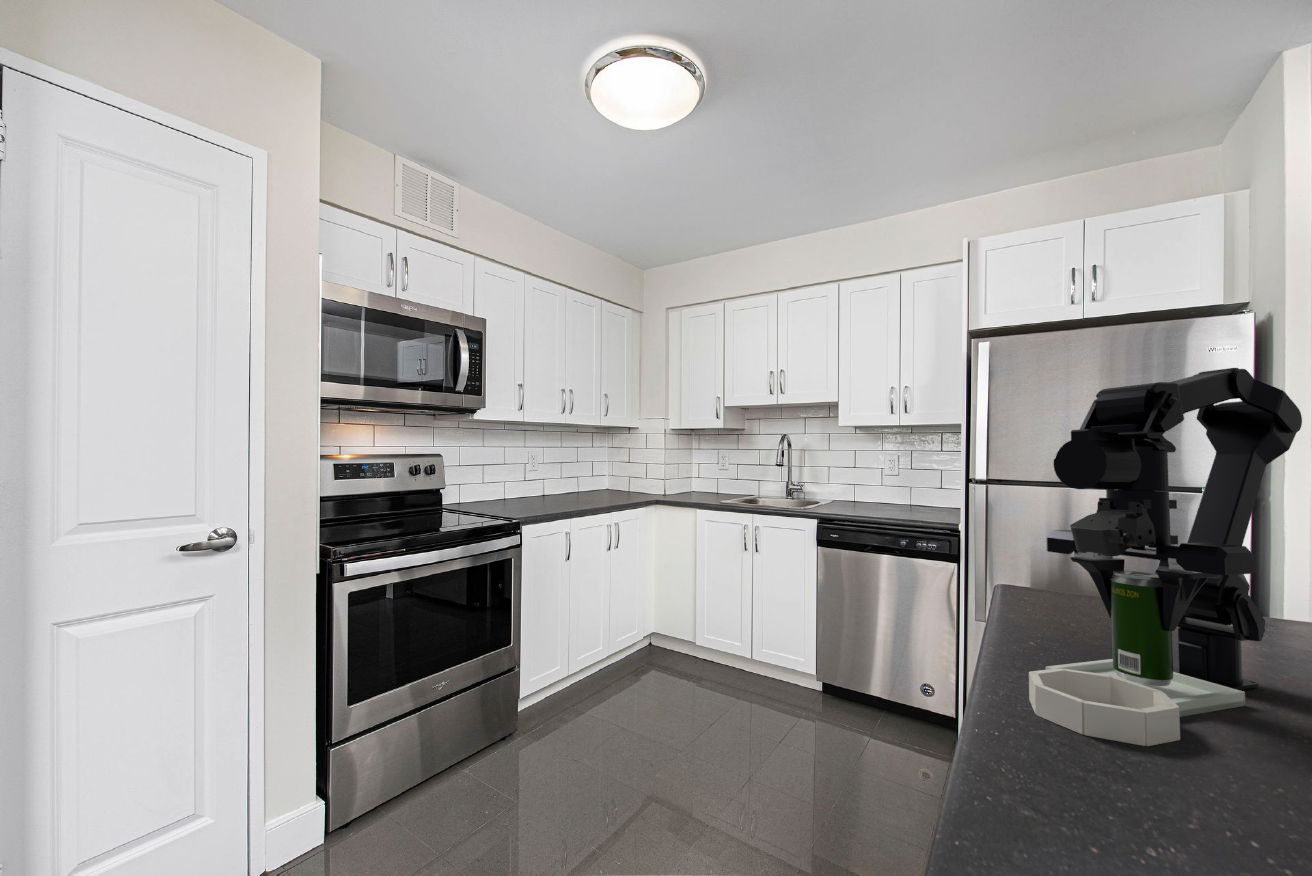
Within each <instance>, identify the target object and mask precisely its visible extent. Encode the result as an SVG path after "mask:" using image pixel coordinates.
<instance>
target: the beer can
mask: <svg viewBox="0 0 1312 876" xmlns="http://www.w3.org/2000/svg"><path fill="white" fill-rule="evenodd" d="M1113 574H1114V575H1113V576H1112V578H1111V580H1110V583H1111V618H1110V619H1111V645H1112V649H1111V650H1112V653H1111V654H1112V659H1113V668H1114V670H1115V672H1116V674H1117V676H1119V677H1121V678H1123V679H1125V680H1128V681H1132V682H1135V683H1140V684H1145V685H1152V686H1167V685H1169V684H1170V683H1171V681H1172V679H1173V669H1174V656H1173V631H1166V630H1165V629H1164V622H1163V584H1162V582H1161V580H1160V578H1159V576H1158V575H1157V574H1155V572H1154V573H1153V572H1147V571H1146V572H1145V571H1137V570H1124V571H1113Z"/></svg>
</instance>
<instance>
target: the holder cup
mask: <svg viewBox="0 0 1312 876" xmlns="http://www.w3.org/2000/svg"><path fill="white" fill-rule="evenodd" d="M1028 695H1029V696H1028V698H1029V699H1028V700H1029V702H1030V705H1031V707H1032V709H1033V711H1034V714H1035V715H1036V716H1037V717H1040V718H1041V719H1045V720H1046V721H1049V722H1052V723H1054V724H1056V725H1059V726H1061V727H1063V728H1065V729H1068V730H1071V731H1073V732H1076V733H1078V734H1080V735H1084V736H1086V737H1092V738H1098V739H1105V740H1110V741H1116V742H1120V743H1126V744H1131V745H1137V746H1143V747H1145V746H1146V747H1149V746H1150V747H1151V746H1156V745H1161V744H1162V745H1163V744H1166V743H1172V742H1177V741H1180V740H1181V723H1180V722H1181V720H1180V718H1181V717H1180V715H1179V706H1178V705H1177V704H1175V703H1174V702H1173V701H1172V700H1171V699H1170V698H1169V697H1168V696H1167V695H1166V694H1165V693H1164V692H1162V691H1160V690H1157V689H1154V688H1151V687H1147V686H1144V685H1141V684H1138V683H1135V682H1131V681H1128V680H1125V679H1122V678H1119V677H1115V676H1111V675H1105V674H1098V673H1091V672H1084V671H1077V670H1070V669H1063V668H1061V669H1060V668H1056V669H1048V670H1046V669H1040V670H1033V671H1028Z"/></svg>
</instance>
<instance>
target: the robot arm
mask: <svg viewBox="0 0 1312 876" xmlns="http://www.w3.org/2000/svg"><path fill="white" fill-rule="evenodd" d="M1095 397H1096V399H1094V400H1093V402H1092V404H1091V405H1090V407H1089V409H1088V411H1087V414H1086V415H1085V418H1084V420H1083V422H1082V424H1081V425H1080V428H1079V429H1072V430H1071V431H1070V440H1069V441H1067V442H1065V443H1064V444H1063V445H1062V446H1061V447H1060V448H1059V450H1058V451H1057V452H1056V454H1055V458H1054V459H1053V469H1054V470H1053V471H1054V472H1055V475H1056V477H1057V478H1058V479H1059V481H1060V482H1062V484H1063V485H1065V486H1068V487H1069V488H1072V489H1075V490H1100V491H1101V490H1106V495H1105V496H1106V497H1099V498H1098V501H1097V509H1096V512H1095V513H1090V514H1088V515H1086V516H1085V517H1082V518H1080V519H1079V520H1077V521H1075V522H1073V523H1071V524H1070V528H1069V529H1061V530H1060V529H1055V530H1053V529H1052V530H1051V532H1050V533H1049V534H1048V536H1047V537H1046V551H1047V552H1048V553H1057V554H1063V555H1071V554H1072V553H1073V555H1074V556H1070V557H1069V558H1070V561H1071V562H1073V563H1077V564H1079V565H1080V566H1081V567H1082V568H1083V569H1084V570H1085V571H1086V572H1087V573H1088V574H1089V575H1090V578H1091V579H1092V581H1093V583H1094V584H1095V587H1096V589H1097V591H1098V594H1099V596H1100V598H1101V600H1102V603H1103V604H1104V607H1105V610H1106V612H1107V614H1108V616H1109V619H1111V583H1110V580H1111V578H1112V576H1113V575H1114V574H1113V571H1125V562H1126V561H1125V558H1117V557H1119V556H1124V557H1125V556H1126V557H1133V558H1139V559H1149V560H1157V561H1159V563H1158V567H1157V569H1156V570H1155V572H1154V573H1155V574H1157V575H1158V576H1159V578H1160V580H1161V582H1162V584H1163V622H1164V629H1165V630H1166V631H1172V632H1174V631H1176V629H1177V662H1178V665H1177V668H1173V672H1176V673H1179V674H1183V675H1186V676H1190V677H1193V678H1197V679H1201V680H1204V681H1208V682H1211V683H1215V684H1218V685H1222V686H1226V687H1229V688H1233V689H1236V690H1240V691H1242V690H1243V691H1244V690H1248V689H1253V688H1254V689H1255V688H1259V687H1260V685H1259V682H1257V681H1254V680H1251V679H1250V680H1249V679H1245V678H1244V677H1243V675H1244V674H1243V672H1244V671H1243V652H1242V651H1243V649H1242V647H1243V646H1242V642H1244V641H1252V642H1262V640H1263V638H1264V634H1265V632H1266V619H1265V618H1264V617H1263V615H1262V613H1261V611H1260V610H1259V609H1258V607H1257V605H1256V604H1255V602H1254V601H1253V599H1252V598H1251V596H1250V595H1249V592H1250V583H1249V582H1248V580H1247V578H1246V575H1251V574H1256V558H1255V556H1254V554H1253V552H1252V551H1250V549H1249V548H1248V547H1247V546H1245V545H1243V544H1244V541H1245V537H1246V534H1247V530H1248V528H1249V524H1250V520H1251V518H1252V514H1253V511H1254V508H1255V504H1256V500H1257V496H1258V494H1259V490H1260V488H1261V484H1262V480H1263V476H1264V473H1265V470H1266V467H1267V465H1268V464H1270V463H1272V462H1273V461H1275V460H1276V459H1277V458H1279V457H1281V456H1282V455H1283V454H1285V453H1287V452H1288V451H1289V450H1290V449H1291V446H1292V444H1293V442H1294V440H1295V437H1296V435H1297V433H1298V432H1299V431H1300V430H1301V429H1302V424H1303V417H1302V413H1301V410H1300V409H1299V407H1298V406H1297V405H1296V403H1295V402H1294V401H1293V400H1292V399H1291V397H1289V395H1288V394H1287V393H1286V392H1285V391H1284V390H1283V389H1280V388H1278V387H1275V386H1273V385H1270V384H1267V383H1265V382H1263V381H1260V380H1258V379H1255V377H1253V375H1252V373H1250V372H1249V371H1248V370H1247V369H1246V368H1238V367H1231V368H1221V369H1215V370H1206V371H1205V370H1204V371H1200V372H1198V373H1197V374H1194V375H1192V376H1188V377H1184V378H1179V379H1177V380H1173V381H1165V382H1163V381H1159V382H1158V381H1157V382H1149V383H1143V384H1135V385H1125V386H1117V387H1108V388H1104V389H1102V390H1099V391H1098V392H1097V393H1096V395H1095ZM1234 399H1235V400H1237V399H1239V401H1229V400H1234ZM1225 401H1229V402H1225ZM1196 410H1198V412H1197V415H1196V421H1198V422H1199V423H1200V424H1201V426H1203V427H1204V429H1205V430H1206V431H1205V433H1206V434H1205V435H1206V437H1207V439H1208V441H1209V442H1210V444H1211V446H1212V448H1213V449H1214V450H1215V455H1214V459H1213V461H1212V462H1213V463H1212V464H1211V468H1210V471H1209V475H1208V477H1207V480H1206V483H1205V486H1204V490H1203V493H1202V496H1201V499H1200V501H1199V505H1198V508H1197V511H1196V515H1195V517H1194V520H1193V524H1192V526H1191V530H1190V533H1189V536H1188V539H1187V542H1184V543H1183V542H1181V543H1180V544H1179V536H1178V535H1176V534H1174V535H1173V534H1171V514H1170V511H1171V510H1175V509H1176V510H1177V509H1178V506H1177V505H1178V502H1177V499H1170V491H1169V490H1170V489H1169V461H1168V459H1169V458H1168V457H1169V455H1168V453H1170V454H1171V453H1175V452H1177V447H1176V446H1175V445H1174V443H1173V442H1171V441H1169V440H1168V439H1167V438H1165V436H1164V434H1165V433H1166V432H1168V431H1170V430H1172V429H1173V428H1175V427H1176V426H1178V425H1179V424H1181V423H1182V422H1184V420H1185V415H1184V414H1186V413H1190V412H1193V411H1196ZM1170 509H1171V510H1170Z"/></svg>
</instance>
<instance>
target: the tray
mask: <svg viewBox="0 0 1312 876" xmlns="http://www.w3.org/2000/svg"><path fill="white" fill-rule="evenodd" d="M1056 668H1060V669H1061V668H1063V669H1070V670H1077V671H1084V672H1091V673H1098V674H1105V675H1111V676H1115V677H1119V676H1117V674H1116V672H1115V670H1114V668H1113V658H1109V659H1100V660H1092V661H1084V662H1073V663H1065V664H1057V665H1049V666H1045V670H1048V669H1056ZM1119 678H1121V677H1119ZM1122 679H1123V678H1122ZM1131 682H1132V681H1131ZM1138 684H1140V683H1138ZM1141 685H1144V686H1147V687H1151V688H1154V689H1157V690H1160V691H1162V692H1164V693H1165V694H1166V695H1167V696H1168V697H1169V698H1170V699H1171V700H1172V701H1173V702H1174V703H1175V704H1177V705H1178V706H1179V715H1180V718H1183V717H1189V716H1195V715H1199V714H1206V713H1212V712H1216V711H1217V712H1218V711H1222V710H1223V711H1224V710H1228V709H1235V708H1240V707H1241V708H1242V707H1245V706H1246V692H1245V691H1244V690H1243V691H1242V690H1236V689H1233V688H1229V687H1226V686H1222V685H1218V684H1215V683H1211V682H1208V681H1204V680H1201V679H1197V678H1193V677H1190V676H1186V675H1183V674H1179V673H1176V672H1173V679H1172V681H1171V683H1170V684H1169V685H1167V686H1152V685H1145V684H1141Z"/></svg>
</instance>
